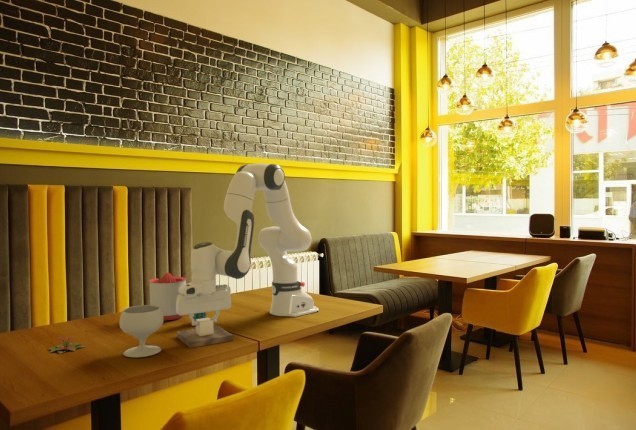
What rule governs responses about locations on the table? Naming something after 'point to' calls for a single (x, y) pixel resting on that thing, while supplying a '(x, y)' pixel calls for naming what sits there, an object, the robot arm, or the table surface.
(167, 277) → the citrus juicer
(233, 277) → the robot arm
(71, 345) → the lily flower
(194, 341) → the walnut base
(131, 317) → the chalice
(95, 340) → the table surface
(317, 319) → the table surface
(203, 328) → the off-white cube
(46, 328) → the table surface
